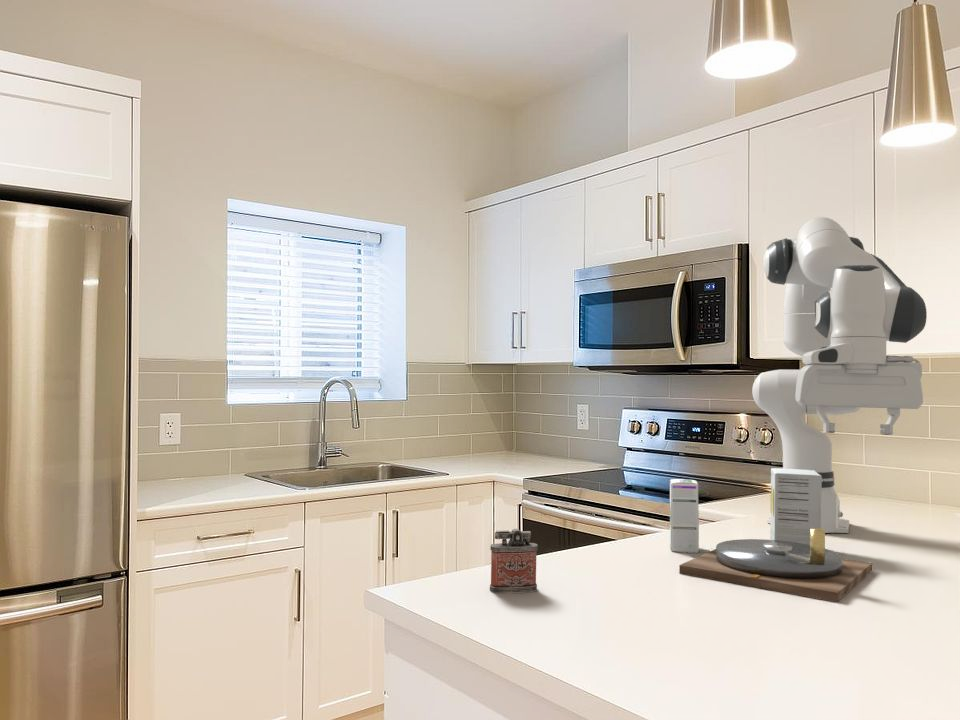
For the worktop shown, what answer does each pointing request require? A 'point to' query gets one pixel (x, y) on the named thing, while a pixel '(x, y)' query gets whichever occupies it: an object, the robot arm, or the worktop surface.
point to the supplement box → (795, 504)
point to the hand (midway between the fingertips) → (857, 433)
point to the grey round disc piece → (781, 557)
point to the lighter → (513, 563)
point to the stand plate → (781, 578)
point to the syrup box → (684, 516)
